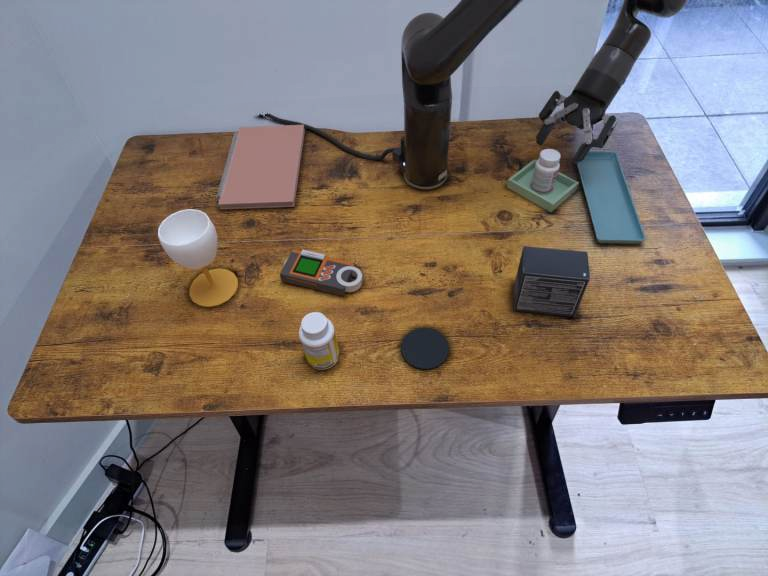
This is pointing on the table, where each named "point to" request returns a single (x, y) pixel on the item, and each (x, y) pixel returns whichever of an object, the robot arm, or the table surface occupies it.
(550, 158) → the pill bottle
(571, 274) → the small box
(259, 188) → the notebook
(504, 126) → the table surface
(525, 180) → the tray
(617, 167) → the shallow long dish
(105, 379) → the table surface
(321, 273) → the electronic device
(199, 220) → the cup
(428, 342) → the coaster
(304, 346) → the supplement bottle
